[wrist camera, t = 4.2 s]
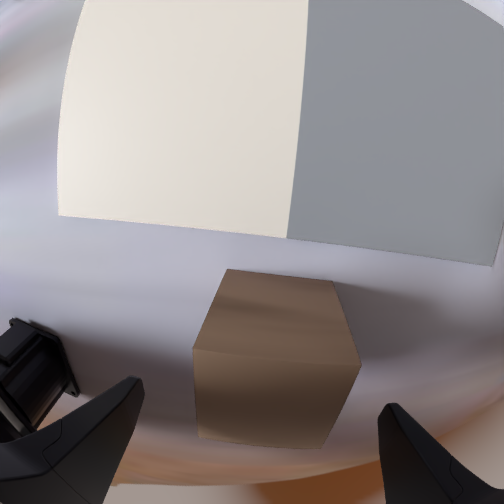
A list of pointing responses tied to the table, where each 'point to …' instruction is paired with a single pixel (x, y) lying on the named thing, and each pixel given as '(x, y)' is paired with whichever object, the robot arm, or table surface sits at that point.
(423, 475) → the robot arm
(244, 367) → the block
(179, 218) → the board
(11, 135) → the table surface
